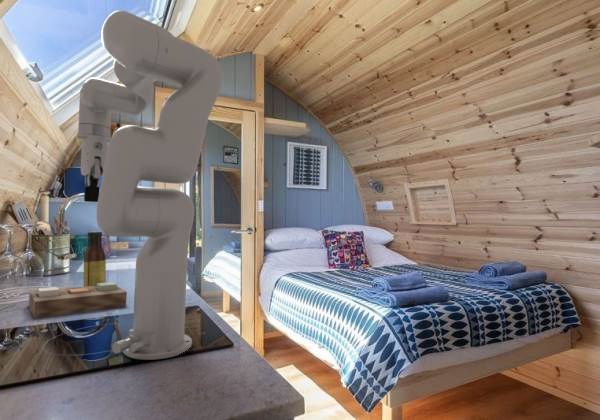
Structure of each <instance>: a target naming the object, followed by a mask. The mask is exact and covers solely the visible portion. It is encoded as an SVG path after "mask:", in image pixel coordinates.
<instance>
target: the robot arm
mask: <svg viewBox="0 0 600 420" xmlns="http://www.w3.org/2000/svg"><path fill="white" fill-rule="evenodd" d="M100 32H101V35H100V36H101V44H102V46H103V48H104V50H105V51H106V52H107V54H109V56H111V58H113V72H114V74H115V76H116V79H118V81H119V82H120V83H121V84H120V83H116V82H114V81H110V80H106V79H103V78H97V77H90V78H88V79H86V80H85V81H84V82H83V84H82V87H81V89H80V90H79V105H78V110H79V111H78V129H77V130H78V132H77V138H78V139H79V140H81V156H80V174H81V176H84V193H83V202H88V203H97V204H96V223H97V226H98V228H99V230H100V232H102V234H104V235H106V236H109V237H114V238H134V237H137V238H139V237H141V238H142V237H144V238H145V237H146V238H147V239H146V241H145V242H144V244H143V245H142V247H141V248H140V250H139V252H138V254H137V256H136V260H135V274H134V275H135V279H134V296H133V298H134V300H133V321H132V328H131V329H129V330H128V335H127V336H126V337H125V339H121V340H118V341H115V342H113V344H112V346H111V349H112V352H113V353H114V354H116V355H117V354H119V353H122V352H123V353H122V354H124V355H125V356H127V357H128V358H131V359H135V360H141V361H142V360H145V361H147V360H149V361H151V360H152V361H153V360H155V361H156V360H162V359H168V358H173V357H177V356H180V355H182V354H184V353H185V351H186V350H187V351H189V350H190V349H191V348H192V346H193V340H192V338H191V337H190V335H188V334H185V327H186V326H185V325H186V324H185V323H186V299H187V277H188V276H187V275H188V272H187V271H188V256H189V255H188V254H189V245H190V237H191V233H192V228H193V224H194V218H195V212H196V211H195V205H194V202H193V200H192V198H191V197H190V196H189V195H188V194H186V193H185V192H183V191H181V190H178V189H174V188H168V187H167V188H165V187H155V186H140V185H139V183H140V182H141V181H142V182H154V183H155V182H156V183H163V184H174V185H175V184H177V185H178V184H181V185H182V184H186V183H189V182H190V181H192V180H193V178H194V177H195V174H196V172H197V169H198V166H199V161H200V156H201V152H202V149H203V148H202V147H203V143H204V139H205V135H206V134H205V133H206V130H207V125H208V121H209V118H210V114H211V113H212V110H213V109H214V106H215V104H216V102H217V99H218V97H219V95H220V92H221V88H222V85H223V83H222V82H223V71H222V68H221V64H220V63H219V61H218V59H217V58H216V57H215V56H214V55H213V54H211V53H210V52H208V51H207V50H205V49H204V48H202V47H199V46H197V45H195V44H194V43H191V42H189V41H186V40H185V39H182V38H180V37H176V36H174V34H172V33H171V32H170V31H169V30H167V29H166V28H164V27H163V26H160V25H158V24H156V23H153V22H151V21H149V20H147V19H146V18H145V19H144V18H142V17H139V16H138V15H136V14H133V13H131V12H129V11H125V10H115V11H113V12H112V13H111V14H109V15H108V16H107V17H106V19H105V21H104V23H103V25H102V28H101V31H100ZM155 80H156V81H159V82H161V83H165V84H169V85H172V86H176V87H178V89H175V91H173V93H171V94H170V95H169V96H168V97H167V98H166V99H165V100H164V102H163V103H162V104H161V105H162V106H161V107H160V108H161V109H160V113H159V118H158V119H159V120H158V123H157V126H156V128H155V129H153V128H149V127H145V126H141V125H140V126H139V125H135V124H134V125H133V124H132V125H131V124H128V125H122V126H121V127H119V128H118V129H117V130H116V131H115V132H114V133H113V134H112V136H111V127H112V126H111V125H112V123H111V121H112V113H113V114H118V115H122V116H127V117H136V116H139V115H141V114H142V113H144V112H145V111H146V110H147V109H149V107H150V105H151V104H152V102H153V98H154V93H155V92H154V90H155V89H154V88H155V87H154V81H155ZM191 345H192V346H191ZM190 347H191V348H190ZM189 348H190V349H189ZM188 349H189V350H188ZM187 351H186V352H187ZM183 352H184V353H183ZM181 353H182V354H181ZM179 354H180V355H179Z"/></svg>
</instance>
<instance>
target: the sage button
mask: <svg viewBox="0 0 600 420" xmlns="http://www.w3.org/2000/svg"><path fill="white" fill-rule="evenodd" d="M117 286H118V284H117V283H115V282H113V281H111V282H108V281H107V282H106V283H97V290H98V291H109V290H117Z"/></svg>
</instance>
